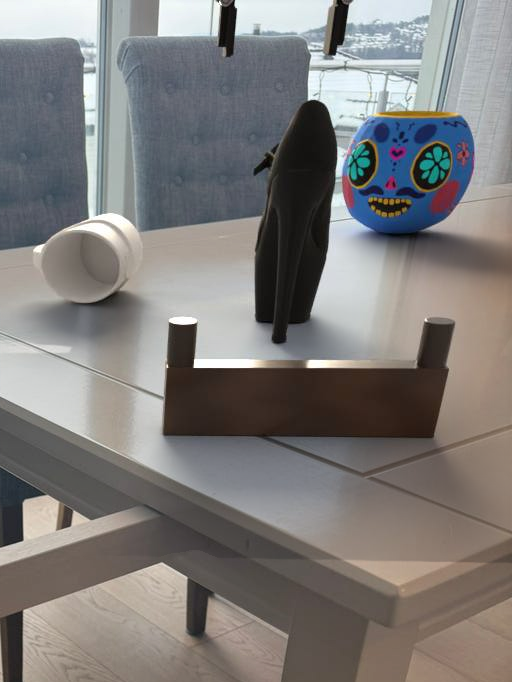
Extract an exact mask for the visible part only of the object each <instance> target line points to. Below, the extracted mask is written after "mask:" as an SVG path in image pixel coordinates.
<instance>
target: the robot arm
mask: <svg viewBox="0 0 512 682" xmlns="http://www.w3.org/2000/svg"><path fill="white" fill-rule="evenodd" d="M215 2H216V4H217V6H219V14H218V27H217V37H216V38H217V39H216V48H222V57H223V58H231V57H232V56H234V49H235V39H236V28H237V18H238V8H237V7H236V6H235V5H236V0H215ZM353 2H355V1H354V0H333V1H332V4H331V5H330V6H329V7H328V10H327V11H328V12H327V18H326V24H325V25H326V26H325V33H324V41H323V47H322V54H323V55H324V56H328V57H336V56H337V53H338V46H339V47H340V46H343V45H344V43H345V37H346V30H347V23H348V15H349V10H350V5H351V4H352V3H353Z"/></svg>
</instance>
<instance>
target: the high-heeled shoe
mask: <svg viewBox="0 0 512 682" xmlns="http://www.w3.org/2000/svg"><path fill="white" fill-rule="evenodd" d="M338 151H339V150H338V140H337V136H336V132H335V128H334V124H333V122H332V118H331V114H330V111H329V108H328V106H327V105H326V104H325V103H324V102H322V101H320V100H318V99H309V100H305V101H304V102H302V103H301V105H299V107H298V108H297V110H296V111H295V113H294V114H293V116H292V118H291V120H290V123H289V124H288V127H287V128H286V130H285V132H284V134H283V136H282V138H281V140H280V142H278V143H277V144H275V145H274V146H273V147H272V148H271V149H269V150H266V151H265V153H264V155H263V160H262V161H260V162H259V163H258V164H257V165H256V166H254V168H253V175H252V176H254V177H256V176H257V175H258V174H260V173H261V172H263V171H264V170H265V169H267V170H268V171H269V175H268V178H267V182H266V199H265V205H264V210H263V213H262V216H261V218H260V220H259V221H260V222H259V226H258V229H257V236H256V237H257V238H256V242H255V246H254V253H255V254H254V257H253V258H254V259H253V260H254V261H253V263H254V268H253V269H254V271H253V273H254V318H255V320H256V321H260V322H272V323H273V324H272V334H271V337H270V341H272V342H275V343H285V342H287V338H288V334H287V332H288V327H289V323H304V322H307V321H309V320H310V318H311V312H312V310H313V306H314V303H315V300H316V297H317V294H318V290H319V286H320V282H321V280H322V275H323V272H324V268H325V266H326V261H327V255H328V252H329V243H330V225H331V219H332V202H333V197H334V192H335V187H336V180H337V166H338V156H339V155H338Z"/></svg>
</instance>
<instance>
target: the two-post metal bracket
mask: <svg viewBox="0 0 512 682" xmlns="http://www.w3.org/2000/svg"><path fill="white" fill-rule="evenodd" d="M198 324H199V323H198V320H197V319H196V318H193V317H189V316H188V317H186V316H178V317H172V318H170V319H169V320H168V328H167V329H168V330H167V343H166V344H167V346H166V359H165V363H164V365H165V366H164V383H163V396H162V397H163V398H162V400H163V401H162V413H161V414H162V416H161V429H162V435H163V436H167V435H169V436H171V435H172V436H257V437H258V436H261V437H262V436H266V437H267V436H268V437H269V436H274V437H276V436H279V437H280V436H281V437H368V438H369V437H370V438H371V437H375V438H377V437H378V438H379V437H381V438H382V437H383V438H385V437H386V438H387V437H388V438H390V437H391V438H435V433H436V430H437V425H438V421H439V416H440V412H441V407H442V402H443V399H444V393H445V391H446V385H447V380H448V377H449V373H450V368H449V367H448V366H447V363H448V359H449V355H450V350H451V345H452V342H453V337H454V332H455V328H456V321H455V320H454V319H452V318H449V317H442V316H432V317H426V318H425V319H424V322H423V325H422V331H421V336H420V340H419V345H418V350H417V356H416V360H414V359H413V360H412V359H406V360H405V359H402V360H401V359H399V360H398V359H397V360H396V359H196V349H197V347H196V346H197V336H198Z"/></svg>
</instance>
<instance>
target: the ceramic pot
mask: <svg viewBox="0 0 512 682" xmlns="http://www.w3.org/2000/svg"><path fill="white" fill-rule="evenodd" d="M474 141H475V140H474V136H473V133H472V130H471V127H470V125H469V123H468V122H467V120H466V119H465V118H464V116H463V115H462V114H460V113H458V112H457V113H456V112H450V111H441V110H439V111H438V110H396V111H395V110H393V111H392V110H391V111H382V112H381V111H380V112H375V113H373V114H371V115H370V116H369V117H368V118H367V119H365V121H363V122H362V124H361V125H360V126H359V128H358V129H357V130H356V132H355V133H354V135H353V137H352V138H351V140H350V143H349V145H348V148H347V150H346V153H345V156H344V159H343V163H342V166H341V188H342V189H341V190H342V196H343V201H344V203H345V206H346V208H347V211H348V213H349V215H350V216H351V217H352V218H353V219H354V220H355V221H356V222H358V223H360V224H361V225H363V226H364V227H366V228H367V229H370V230H372V231H375V232H379V233H385V234H394V235H395V234H398V235H399V234H401V235H402V234H413V233H416V232H417V233H418V232H421V231H424V230H427V229H428V228H430V227H433V226H435V225H437V224H439V223H441V222H443V221H445V220H446V219H448V217H449V216H450V215H451V214H452V213H453V211H454V210H455V209H456V208H457V206H458V205H459V203H460V202H461V200H462V199H463V197H464V195H465V194H466V192H467V189H468V188H469V185H470V182H471V181H472V178H473V175H474V170H475V158H476V157H475V153H476V151H475V142H474Z"/></svg>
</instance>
